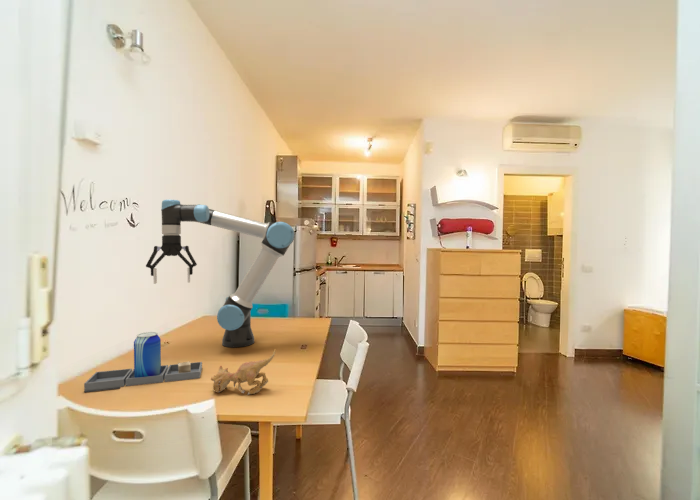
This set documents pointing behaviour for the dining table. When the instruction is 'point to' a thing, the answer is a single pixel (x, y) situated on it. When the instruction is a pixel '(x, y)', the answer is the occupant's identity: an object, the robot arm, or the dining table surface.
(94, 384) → the tray
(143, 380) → the tray middle
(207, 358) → the dining table surface
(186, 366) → the beige cube
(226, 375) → the toy
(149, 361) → the beer can
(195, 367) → the tray
